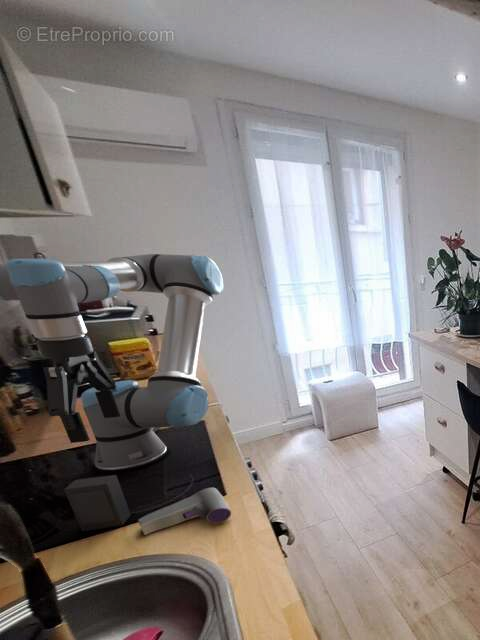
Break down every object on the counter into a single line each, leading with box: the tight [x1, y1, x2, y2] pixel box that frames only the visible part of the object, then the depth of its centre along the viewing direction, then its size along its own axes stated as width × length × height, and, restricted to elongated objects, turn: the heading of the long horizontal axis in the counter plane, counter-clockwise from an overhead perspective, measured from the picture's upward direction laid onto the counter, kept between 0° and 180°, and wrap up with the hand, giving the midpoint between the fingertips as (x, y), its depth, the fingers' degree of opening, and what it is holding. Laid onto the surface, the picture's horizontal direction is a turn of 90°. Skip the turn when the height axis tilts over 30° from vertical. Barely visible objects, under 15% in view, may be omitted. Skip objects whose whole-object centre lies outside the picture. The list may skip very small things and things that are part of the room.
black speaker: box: [63, 474, 132, 533], centre depth 91 cm, size 4×7×11 cm, turn 112°
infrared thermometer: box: [137, 487, 232, 536], centre depth 94 cm, size 5×12×15 cm
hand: (97, 428), depth 93 cm, fingers open, 13 cm apart
